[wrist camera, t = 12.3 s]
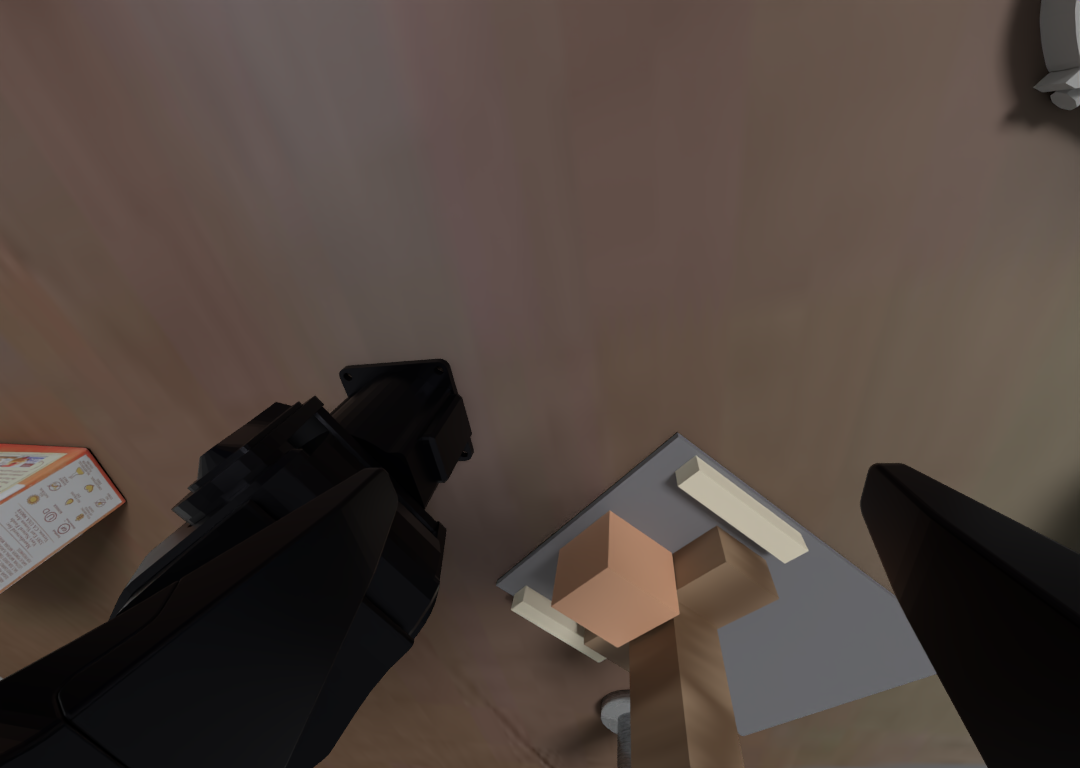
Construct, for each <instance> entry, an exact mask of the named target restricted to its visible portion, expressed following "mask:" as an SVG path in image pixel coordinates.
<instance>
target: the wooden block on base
mask: <svg viewBox="0 0 1080 768" xmlns="http://www.w3.org/2000/svg"><path fill="white" fill-rule="evenodd" d="M672 557H673V565H674V573H675V581H676V589H677V597H678V605H679V613H680V614H679V615H677V616H676V617H674V618H672V619H670V620H668V621H666V622H664V623H663V624H661V625H659V626H657V627H655V628H653V629H652V630H650V631H648V632H646V633H644V634H642V635H640V636H639V637H637V638H635V639H633V640H631V641H629V642H627V643H626V644H624V645H622V646H620V647H618V648H617V647H616V646H614V645H612V644H611V643H609V642H607V641H606V640H604V639H603V638H601V637H599V636H598V635H596V634H594V633H593V632H591V631H590V630H588V629H586V628H585V632H584V645H585V646H587V647H589V648H590V649H592V650H594V651H595V652H597V653H599V654H600V655H602V656H604V657H605V658H607V659H608V660H610V661H612V662H613V663H615V664H617V665H618V666H620V667H622V668H623V669H625V670H627V671H628V672H630V724H631V768H745V766H744V761H743V756H742V751H741V746H740V741H739V736H738V731H737V726H736V721H735V716H734V711H733V706H732V701H731V696H730V691H729V686H728V681H727V676H726V671H725V666H724V661H723V656H722V651H721V646H720V641H719V636H718V631H717V629H719V628H721V627H723V626H725V625H727V624H729V623H731V622H733V621H735V620H737V619H739V618H741V617H743V616H745V615H747V614H750V613H752V612H754V611H756V610H758V609H760V608H762V607H764V606H766V605H768V604H770V603H772V602H774V601H776V600H778V599H779V597H778V594H777V591H776V588H775V585H774V582H773V579H772V577H771V574H770V571H769V568H768V565H767V562H766V560H765V559H763V558H762V557H760V556H759V555H758V554H756V553H755V552H753V551H752V550H751V549H749V548H748V547H746V546H745V545H744V544H742V543H741V542H739V541H738V540H737V539H735V538H734V537H732V536H731V535H730V534H728V533H727V532H726V531H724V530H723V529H721V528H720V527H719V526H715V527H714V528H712V529H710V530H709V531H707V532H706V533H704V534H703V535H701V536H700V537H698V538H696V539H695V540H693V541H692V542H690V543H689V544H687V545H685V546H684V547H682V548H681V549H679V550H678V551H676V552H675V553H673V554H672Z"/></svg>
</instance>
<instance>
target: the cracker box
mask: <svg viewBox="0 0 1080 768" xmlns="http://www.w3.org/2000/svg"><path fill="white" fill-rule="evenodd" d="M125 502H126V500H125V499H124V498H123V496H122V495H121V494H120V492H119V491H118V489H117V488H116V487H115V486H114V484H113V483H112V481H111V480H110V479H109V477H108V476H107V475H106V473H105V472H104V471H103V469H102V468H101V466H100V465H99V464H98V462H97V461H96V460H95V458H94V457H93V455H92V454H91V453H90V451H89V450H88V449H87V448H78V447H57V446H39V445H20V444H0V594H1V593H2V592H4V591H5V590H6V589H8V588H9V587H10V586H12V585H13V584H15V583H16V582H17V581H19V580H20V579H21V578H23V577H24V576H26V575H27V574H28V573H30V572H31V571H32V570H34V569H35V568H36V567H38V566H39V565H41V564H42V563H43V562H45V561H46V560H47V559H49V558H50V557H51V556H53V555H54V554H55V553H57V552H58V551H60V550H61V549H62V548H64V547H65V546H66V545H68V544H69V543H71V542H72V541H73V540H75V539H76V538H77V537H79V536H80V535H81V534H83V533H84V532H85V531H87V530H88V529H89V528H91V527H92V526H94V525H95V524H97V523H98V522H99V521H101V520H102V519H103V518H105V517H106V516H107V515H109V514H110V513H112V512H113V511H115V510H116V509H117V508H118V507H120V506H121V505H122V504H124V503H125Z"/></svg>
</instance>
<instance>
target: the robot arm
mask: <svg viewBox="0 0 1080 768" xmlns="http://www.w3.org/2000/svg"><path fill="white" fill-rule="evenodd" d="M437 366H440V367H441V368H442V369H443V371H440V370H438V368H437ZM348 373H349V374H350V375H351V376H352V377H350V376H349V375H348ZM339 376H340V379H341V381H342V384H343V386H344V388H345V391H346V393H347V395H348V398H346V399H345V400H344V401H343V402H342V403H341V404H340V405H339V406H338V407H337V408H335V409H334V410H333V411H332V412H331V413H330V414H329V413H328V412H327V411H326V410H325V409H324V408H323V407H322V406H323V405H324V404H323V403H322V402H321V401H320V400H319V399H318V398H317V397H316V396H313V397H312V398H311V399H309V400H308V401H306V402H305V403H304V404H301V403H300V402H297V403H296V404H294V405H292V406H290V405H286V404H282V403H278V402H275V403H274V404H273V405H271V406H270V407H269V408H267V409H266V410H265V411H263V412H262V413H260V414H259V415H258V416H256V417H255V418H254V419H252V420H251V421H250V422H248V423H247V424H245V425H244V426H243V427H241V428H240V429H238V430H237V431H235V432H234V433H233V434H231V435H230V436H228V437H227V438H225V439H224V440H222V441H221V442H220V443H218V444H217V445H215V446H214V447H213V448H211V449H210V450H209V451H207V452H206V453H205V454H203V455H202V456H201V457H200V459H199V468H198V477H197V480H196V481H195V482H194V483H193V484H191V485H190V486H189V487H188V489H189V490H190V491H191V492H190V493H189V494H188V495H186V496H185V497H184V498H183V499H182V500H181V501H180V502H179V503H177V504H176V505H175V506H174V507H173V508H172V509H171V510H172V511H173V512H175V513H176V514H177V515H178V516H180V517H181V518H182V519H183V520H185V521H186V523H185V524H183V525H182V526H181V527H180V528H178V529H177V530H176V531H175V532H174V533H172V534H171V535H170V536H169V537H168V538H166V539H165V540H164V541H163V542H162V543H160V544H159V545H158V546H157V547H155V548H154V549H153V550H152V551H151V552H150V553H149V554H148V555H147V556H146V557H145V558H144V560H143V561H142V563H141V564H140V566H139V568H138V569H137V571H136V572H135V574H134V575H133V577H132V578H131V580H130V581H129V583H128V584H127V586H126V587H125V589H124V590H123V592H122V594H121V595H120V597H119V599H118V601H117V603H116V605H115V608H114V610H113V612H112V614H111V616H110V619H109V621H108V622H106V623H104V624H102V625H101V626H99V627H97V628H95V629H93V630H92V631H90V632H88V633H86V634H84V635H83V636H81V637H79V638H77V639H75V640H74V641H72V642H70V643H68V644H66V645H65V646H63V647H61V648H59V649H57V650H55V651H54V652H52V653H50V654H48V655H46V656H44V657H43V658H41V659H39V660H37V661H35V662H33V663H32V664H30V665H28V666H26V667H24V668H23V669H21V670H19V671H17V672H15V673H13V674H12V675H10V676H8V677H6V678H4V679H2V680H1V681H0V768H313V767H314V766H316V765H317V764H318V763H319V762H321V761H322V760H323V759H324V758H325V757H326V756H327V755H328V754H329V753H330V752H331V750H332V749H333V747H334V746H335V744H336V743H337V741H338V740H339V738H340V736H341V735H342V733H343V732H344V730H345V729H346V727H347V726H348V724H349V723H350V721H351V719H352V718H353V716H354V715H355V713H356V712H357V710H358V709H359V707H360V706H361V705H362V703H363V702H364V700H365V699H366V697H367V696H368V694H369V693H370V692H371V690H372V689H373V688H374V687H375V686H376V684H377V683H378V682H379V681H380V680H381V678H382V677H383V676H384V675H385V674H386V672H387V671H388V670H389V669H390V668H391V667H392V666H393V665H394V664H395V663H396V662H397V661H398V660H399V659H400V658H401V657H402V656H403V655H404V654H405V653H406V652H407V651H408V650H409V649H410V648H411V647H412V646H413V644H414V638H415V637H416V636H417V634H418V633H419V632H420V630H421V629H422V627H423V626H424V625H425V623H426V621H427V619H428V617H429V616H430V614H431V612H432V609H433V607H434V605H435V602H436V598H437V594H438V590H439V584H440V574H441V566H442V559H443V552H444V545H445V537H446V528H445V527H444V526H443V525H442V524H441V523H440V522H439V521H438V522H436V521H435V520H434V519H433V518H432V517H431V516H430V515H429V514H428V513H427V512H426V511H425V510H424V509H425V508H426V506H427V504H428V502H429V500H430V498H431V497H432V495H433V493H434V491H435V489H436V487H437V486H438V484H439V483H445V482H446V481H447V480H448V478H449V477H450V475H451V473H452V471H453V469H454V467H455V465H456V463H457V461H466V460H469V459H471V457H472V455H473V453H474V449H473V445H472V442H471V438H470V437H471V435H472V432H471V428H470V425H469V421H468V417H467V414H466V410H465V407H464V403H463V399H462V397H461V396H460V395H459V394H458V392H457V389H456V385H455V382H454V378H453V375H452V371H451V368H450V365H449V363H448V362H447V361H445V360H443V359H429V360H416V361H403V362H390V363H377V364H364V365H351V366H346V367H345V368H343V369H342V370H341V371H340V373H339ZM463 450H464V451H466V452H467V453H464V452H463ZM860 507H861V512H862V516H863V518H864V520H865V523H866V525H867V528H868V530H869V533H870V535H871V538H872V540H873V542H874V545H875V547H876V550H877V552H878V555H879V557H880V560H881V562H882V564H883V567H884V569H885V572H886V574H887V577H888V579H889V581H890V584H891V586H892V589H893V591H894V593H895V595H896V598H897V600H898V602H899V604H900V606H901V608H902V610H903V612H904V614H905V616H906V618H907V620H908V622H909V624H910V625H911V627H912V629H913V631H914V633H915V635H916V636H917V638H918V640H919V642H920V644H921V646H922V647H923V649H924V651H925V653H926V655H927V657H928V659H929V660H930V662H931V664H932V666H933V668H934V670H935V671H936V673H937V675H938V677H939V679H940V681H941V682H942V684H943V686H944V688H945V690H946V692H947V694H948V695H949V697H950V699H951V701H952V703H953V705H954V706H955V708H956V710H957V712H958V714H959V716H960V717H961V719H962V721H963V723H964V725H965V727H966V729H967V730H968V732H969V734H970V736H971V738H972V740H973V741H974V743H975V745H976V747H977V749H978V751H979V752H980V754H981V756H982V758H983V760H984V762H985V764H986V765H987V767H988V768H1080V554H1079V553H1077V552H1075V551H1073V550H1071V549H1069V548H1067V547H1065V546H1063V545H1061V544H1059V543H1057V542H1055V541H1053V540H1051V539H1050V538H1048V537H1046V536H1044V535H1042V534H1040V533H1038V532H1036V531H1034V530H1032V529H1030V528H1028V527H1026V526H1024V525H1022V524H1020V523H1018V522H1016V521H1014V520H1012V519H1011V518H1009V517H1007V516H1005V515H1003V514H1001V513H999V512H997V511H995V510H993V509H991V508H989V507H987V506H985V505H983V504H981V503H979V502H977V501H975V500H973V499H972V498H970V497H968V496H966V495H964V494H962V493H960V492H958V491H956V490H954V489H952V488H950V487H948V486H946V485H944V484H942V483H940V482H938V481H936V480H935V479H933V478H931V477H929V476H927V475H925V474H923V473H921V472H919V471H917V470H915V469H913V468H911V467H909V466H907V465H905V464H902V463H876V464H873V465H872V466H871V467H870V468H869V470H868V473H867V477H866V481H865V485H864V488H863V492H862V496H861V500H860Z"/></svg>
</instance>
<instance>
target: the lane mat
mask: <svg viewBox="0 0 1080 768" xmlns="http://www.w3.org/2000/svg"><path fill="white" fill-rule="evenodd" d="M609 510H610V511H611V512H613V513H614V514H616V515H617V516H619V517H620V518H622V519H623V520H625V521H626V522H628V523H629V524H630V525H632V526H633V527H635V528H636V529H638V530H639V531H641V532H642V533H644V534H645V535H647V536H648V537H649V538H651V539H652V540H654V541H655V542H657V543H658V544H660V545H661V546H663V547H664V548H666V549H667V550H668V551H670V552H671V553H672V554H673V553H675V552H676V551H678V550H679V549H681V548H682V547H684V546H685V545H687V544H689V543H690V542H692V541H693V540H695V539H696V538H698V537H700V536H701V535H703V534H704V533H706V532H707V531H709V530H710V529H712V528H714V527H715V526H719V527H720V528H721V529H723V530H724V531H726V532H727V533H728V534H730V535H731V536H732V537H734V538H735V539H737V540H738V541H739V542H741V543H742V544H744V545H745V546H746V547H748V548H749V549H751V550H752V551H753V552H755V553H756V554H758V555H759V556H760V557H762V558H763V559H765V560H766V562H767V565H768V568H769V571H770V574H771V577H772V579H773V582H774V585H775V588H776V591H777V594H778V597H779V599H778V600H776V601H774V602H772V603H770V604H768V605H766V606H764V607H762V608H760V609H758V610H756V611H754V612H752V613H750V614H747V615H745V616H743V617H741V618H739V619H737V620H735V621H733V622H731V623H729V624H727V625H725V626H723V627H721V628H719V629H717V631H718V636H719V641H720V646H721V651H722V656H723V661H724V666H725V671H726V676H727V681H728V686H729V691H730V696H731V701H732V706H733V711H734V716H735V721H736V726H737V731H738V733H739V734H740V735H742V736H745V735H748V734H751V733H754V732H757V731H761V730H764V729H767V728H770V727H773V726H776V725H779V724H782V723H785V722H789V721H792V720H795V719H798V718H801V717H804V716H807V715H810V714H813V713H817V712H820V711H823V710H826V709H829V708H832V707H835V706H838V705H841V704H844V703H848V702H851V701H854V700H857V699H860V698H863V697H866V696H869V695H872V694H876V693H879V692H882V691H885V690H888V689H891V688H894V687H897V686H900V685H903V684H907V683H910V682H913V681H916V680H919V679H922V678H925V677H928V676H931V675H935V674H937V673H936V671H935V670H934V668H933V666H932V664H931V662H930V660H929V659H928V657H927V655H926V653H925V651H924V649H923V647H922V646H921V644H920V642H919V640H918V638H917V636H916V635H915V633H914V631H913V629H912V627H911V625H910V624H909V622H908V620H907V618H906V616H905V614H904V612H903V610H902V608H901V606H900V604H899V602H898V600H897V598H896V596H895V595H893V594H892V593H891V592H889V591H888V590H887V589H885V588H884V587H883V586H881V585H880V584H879V583H877V582H876V581H875V580H873V579H872V578H871V577H869V576H868V575H867V574H865V573H864V572H863V571H861V570H860V569H859V568H857V567H856V566H855V565H853V564H852V563H851V562H849V561H848V560H847V559H845V558H844V557H843V556H841V555H840V554H839V553H837V552H836V551H835V550H833V549H832V548H831V547H829V546H828V545H827V544H825V543H824V542H823V541H821V540H820V539H819V538H817V537H816V536H815V535H813V534H812V533H811V532H809V531H808V530H807V529H805V528H804V527H803V526H801V525H800V524H799V523H797V522H796V521H795V520H793V519H792V518H791V517H790V516H788V515H787V514H786V513H784V512H783V511H782V510H780V509H779V508H778V507H776V506H775V505H774V504H772V503H771V502H770V501H768V500H767V499H766V498H764V497H763V496H762V495H760V494H759V493H758V492H756V491H755V490H754V489H752V488H751V487H750V486H748V485H747V484H746V483H744V482H743V481H742V480H740V479H739V478H738V477H736V476H735V475H734V474H732V473H731V472H730V471H728V470H727V469H726V468H724V467H723V466H722V465H720V464H719V463H718V462H716V461H715V460H714V459H712V458H711V457H710V456H708V455H707V454H706V453H704V452H703V451H702V450H700V449H699V448H698V447H696V446H695V445H694V444H692V443H691V442H690V441H688V440H687V439H686V438H684V437H683V436H682V435H680V434H679V433H678V432H677V433H676V434H675V435H674V436H672V437H671V438H670V439H669V440H668V441H666V442H665V443H664V444H663V445H662V446H660V447H659V448H658V449H657V450H655V451H654V452H653V453H652V454H651V455H649V456H648V457H647V458H646V459H645V460H643V461H642V462H641V463H640V464H638V465H637V466H636V467H635V468H634V469H632V470H631V471H630V472H629V473H628V474H626V475H625V476H624V477H623V478H621V479H620V480H619V481H618V482H617V483H615V484H614V485H613V486H612V487H611V488H609V489H608V490H607V491H606V492H604V493H603V494H602V495H601V496H600V497H598V498H597V499H596V500H595V501H594V502H592V503H591V504H590V505H589V506H587V507H586V508H585V509H584V510H583V511H581V512H580V513H579V514H578V515H577V516H575V517H574V518H573V519H572V520H570V521H569V522H568V523H567V524H566V525H564V526H563V527H562V528H561V529H560V530H558V531H557V532H556V533H555V534H553V535H552V536H551V537H550V538H549V539H547V540H546V541H545V542H544V543H543V544H541V545H540V546H539V547H538V548H536V549H535V550H534V551H533V552H532V553H530V554H529V555H528V556H527V557H526V558H524V559H523V560H522V561H521V562H519V563H518V564H517V565H516V566H515V567H513V568H512V569H511V570H510V571H509V572H507V573H506V574H505V575H504V576H502V577H501V578H500V579H499V580H498V581H497V584H496V586H498V587H499V588H501V589H502V590H504V591H506V592H507V593H509V594H511V595H512V596H514V599H513V603H512V607H511V610H512V611H514V612H515V613H517V614H519V615H520V616H522V617H524V618H525V619H527V620H529V621H530V622H532V623H534V624H535V625H537V626H539V627H540V628H542V629H544V630H545V631H547V632H549V633H550V634H552V635H554V636H555V637H557V638H559V639H560V640H562V641H564V642H565V643H567V644H568V645H570V646H572V647H573V648H575V649H577V650H578V651H580V652H582V653H583V654H585V655H587V656H588V657H590V658H592V659H593V660H595V661H597V662H598V663H599V662H601V661H603V660H605V659H607V658H605V657H604V656H602V655H600V654H599V653H597V652H595V651H594V650H592V649H590V648H589V647H587V646H585V645H584V632H585V627H583V626H581V625H580V624H578V623H577V622H575V621H573V620H572V619H570V618H568V617H567V616H565V615H564V614H562V613H560V612H559V611H557V610H555V609H554V608H552V607H551V602H552V596H553V589H554V583H555V576H556V570H557V563H558V557H559V550H560V549H561V548H562V547H564V546H565V545H566V544H567V543H569V542H570V541H571V540H573V539H574V538H575V537H576V536H578V535H579V534H580V533H581V532H583V531H584V530H585V529H587V528H588V527H589V526H590V525H592V524H593V523H594V522H595V521H597V520H598V519H599V518H601V517H602V516H603V515H604V514H606V513H607V512H608V511H609Z"/></svg>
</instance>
